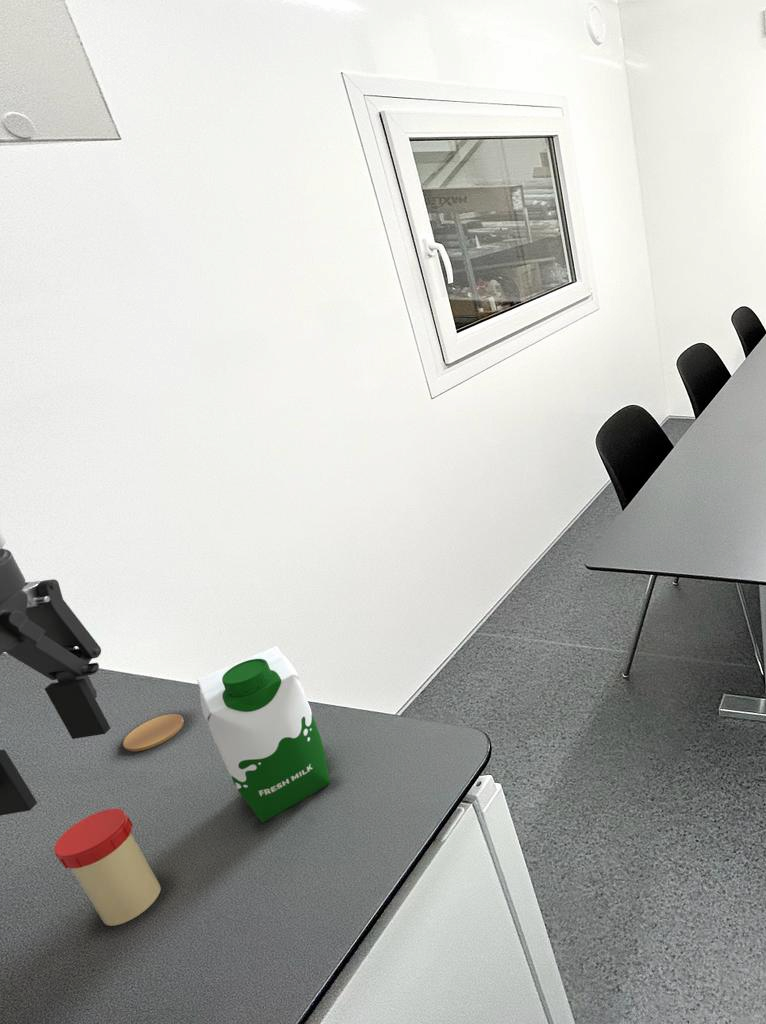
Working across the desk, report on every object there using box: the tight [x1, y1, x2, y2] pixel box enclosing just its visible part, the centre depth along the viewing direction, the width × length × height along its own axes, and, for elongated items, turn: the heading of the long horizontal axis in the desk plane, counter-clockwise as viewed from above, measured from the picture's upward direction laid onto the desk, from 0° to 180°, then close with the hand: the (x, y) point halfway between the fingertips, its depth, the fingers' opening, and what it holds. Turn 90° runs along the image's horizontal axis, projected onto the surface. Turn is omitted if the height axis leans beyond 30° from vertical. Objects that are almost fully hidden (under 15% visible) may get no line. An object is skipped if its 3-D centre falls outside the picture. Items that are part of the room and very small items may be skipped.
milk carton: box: [196, 645, 331, 824], centre depth 76 cm, size 9×9×20 cm
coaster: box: [122, 713, 185, 753], centre depth 87 cm, size 6×6×1 cm
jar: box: [69, 832, 162, 927], centre depth 65 cm, size 4×4×11 cm
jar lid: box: [53, 808, 134, 869], centre depth 63 cm, size 5×5×2 cm
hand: (55, 769), depth 59 cm, fingers open, 8 cm apart
